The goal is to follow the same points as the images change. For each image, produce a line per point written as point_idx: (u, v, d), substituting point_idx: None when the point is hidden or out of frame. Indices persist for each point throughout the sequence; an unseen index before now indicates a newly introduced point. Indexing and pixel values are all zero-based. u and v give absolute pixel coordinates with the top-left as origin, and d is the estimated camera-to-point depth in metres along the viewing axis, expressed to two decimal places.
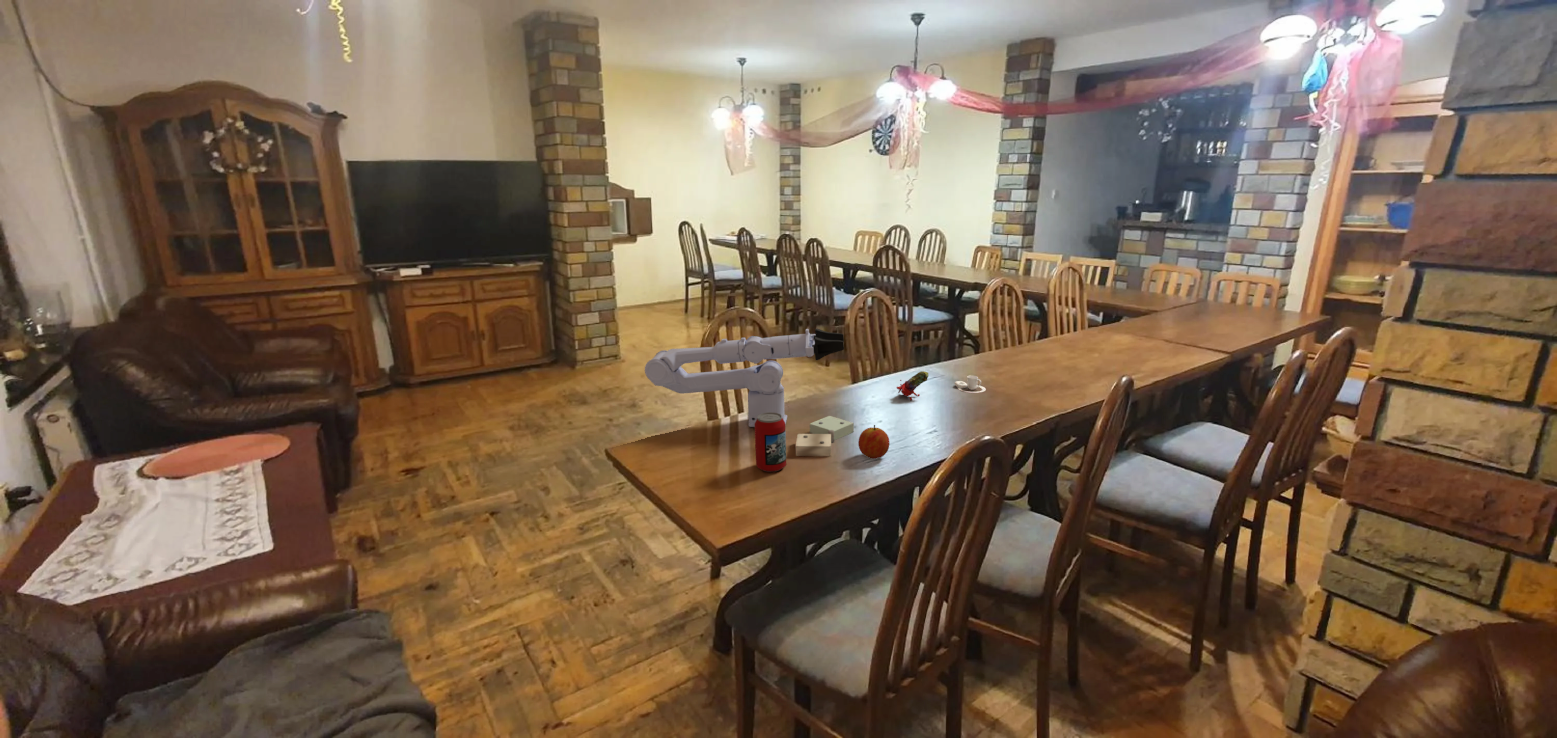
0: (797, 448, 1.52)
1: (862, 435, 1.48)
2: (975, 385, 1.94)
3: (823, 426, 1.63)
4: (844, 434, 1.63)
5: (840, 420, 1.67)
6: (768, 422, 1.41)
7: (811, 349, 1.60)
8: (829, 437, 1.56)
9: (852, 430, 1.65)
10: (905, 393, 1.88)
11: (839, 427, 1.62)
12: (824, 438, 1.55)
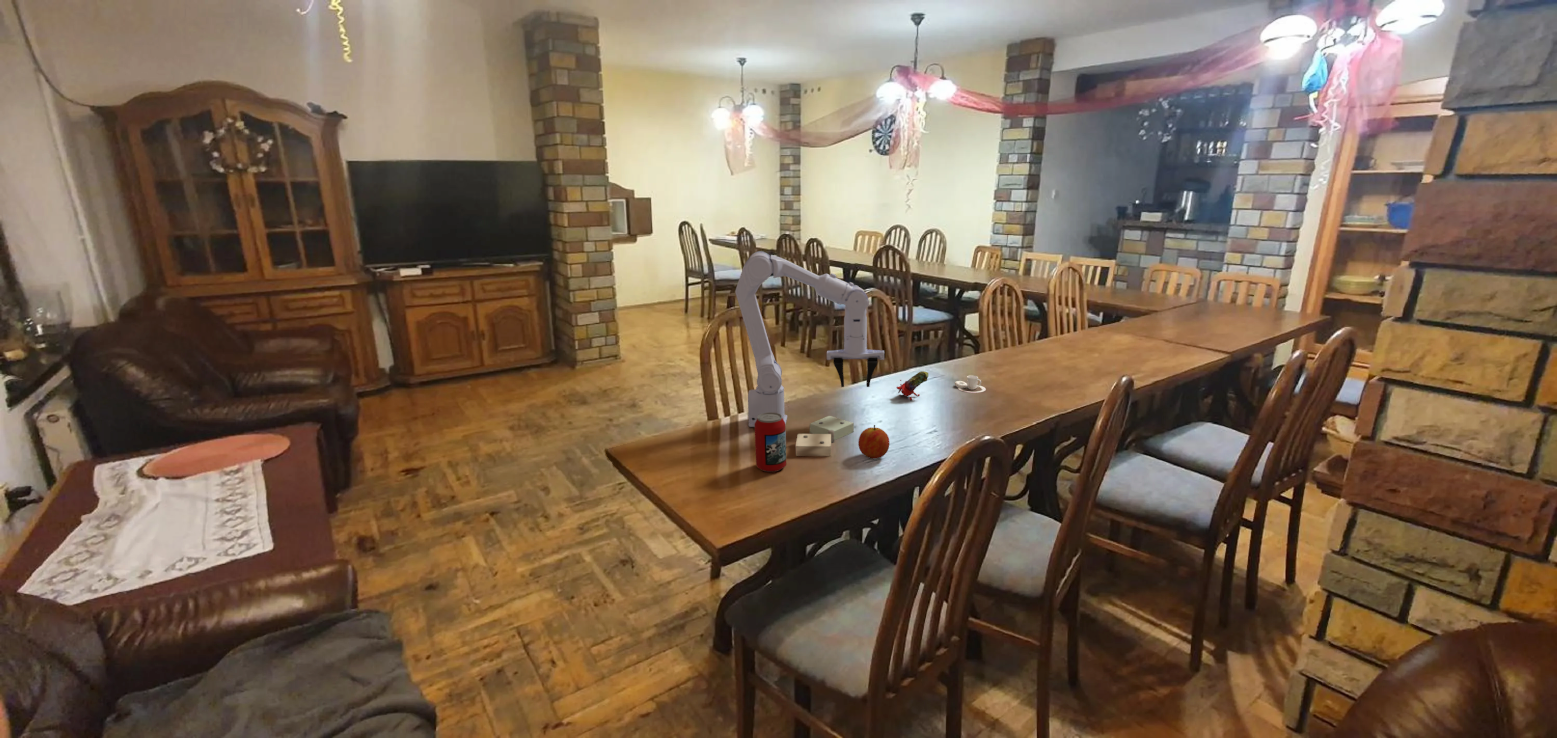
0: (797, 448, 1.52)
1: (862, 435, 1.48)
2: (975, 385, 1.94)
3: (823, 426, 1.63)
4: (844, 434, 1.63)
5: (840, 420, 1.67)
6: (768, 422, 1.41)
7: None
8: (829, 437, 1.56)
9: (852, 430, 1.65)
10: (905, 393, 1.88)
11: (839, 427, 1.62)
12: (824, 438, 1.55)
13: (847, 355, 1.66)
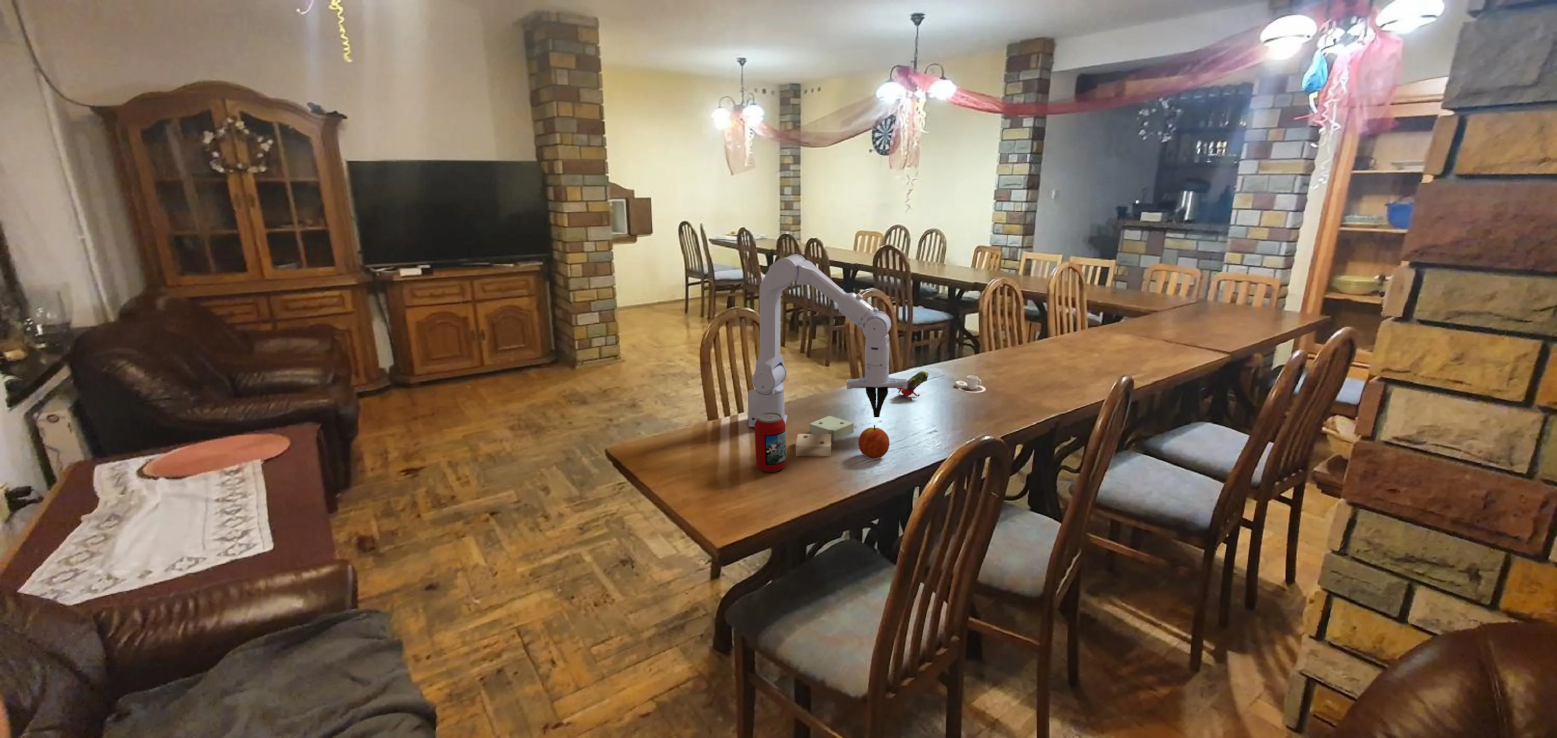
0: (797, 448, 1.52)
1: (862, 435, 1.48)
2: (975, 385, 1.94)
3: (823, 426, 1.63)
4: (844, 434, 1.63)
5: (840, 420, 1.67)
6: (768, 422, 1.41)
7: None
8: (829, 437, 1.56)
9: (852, 430, 1.65)
10: (905, 393, 1.88)
11: (839, 427, 1.62)
12: (824, 438, 1.55)
13: (868, 384, 1.58)
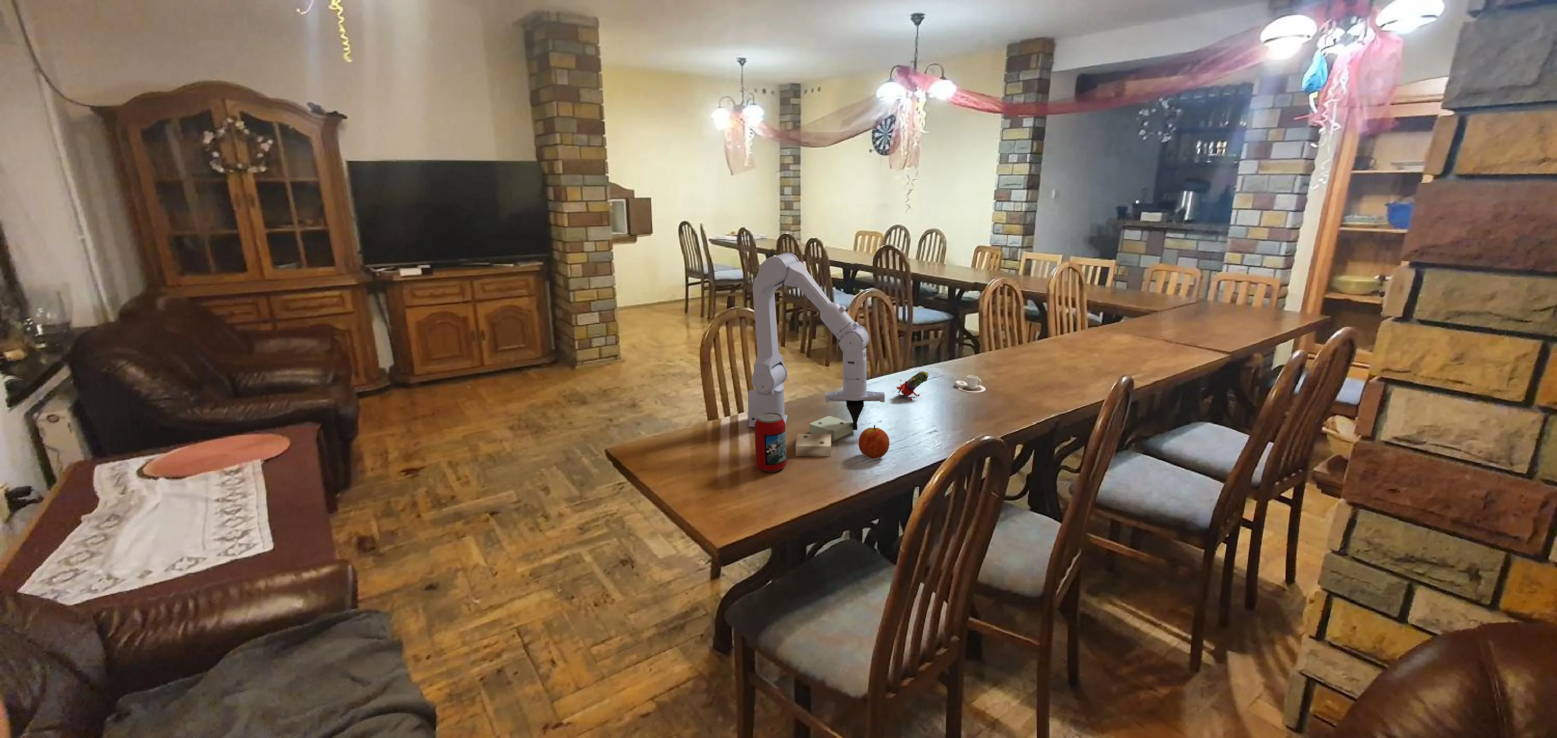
0: (797, 448, 1.52)
1: (862, 435, 1.48)
2: (975, 385, 1.94)
3: (823, 426, 1.63)
4: (844, 434, 1.63)
5: (839, 420, 1.67)
6: (768, 422, 1.41)
7: None
8: (829, 437, 1.56)
9: (852, 430, 1.65)
10: (905, 393, 1.88)
11: (839, 427, 1.62)
12: (824, 438, 1.55)
13: (846, 398, 1.60)
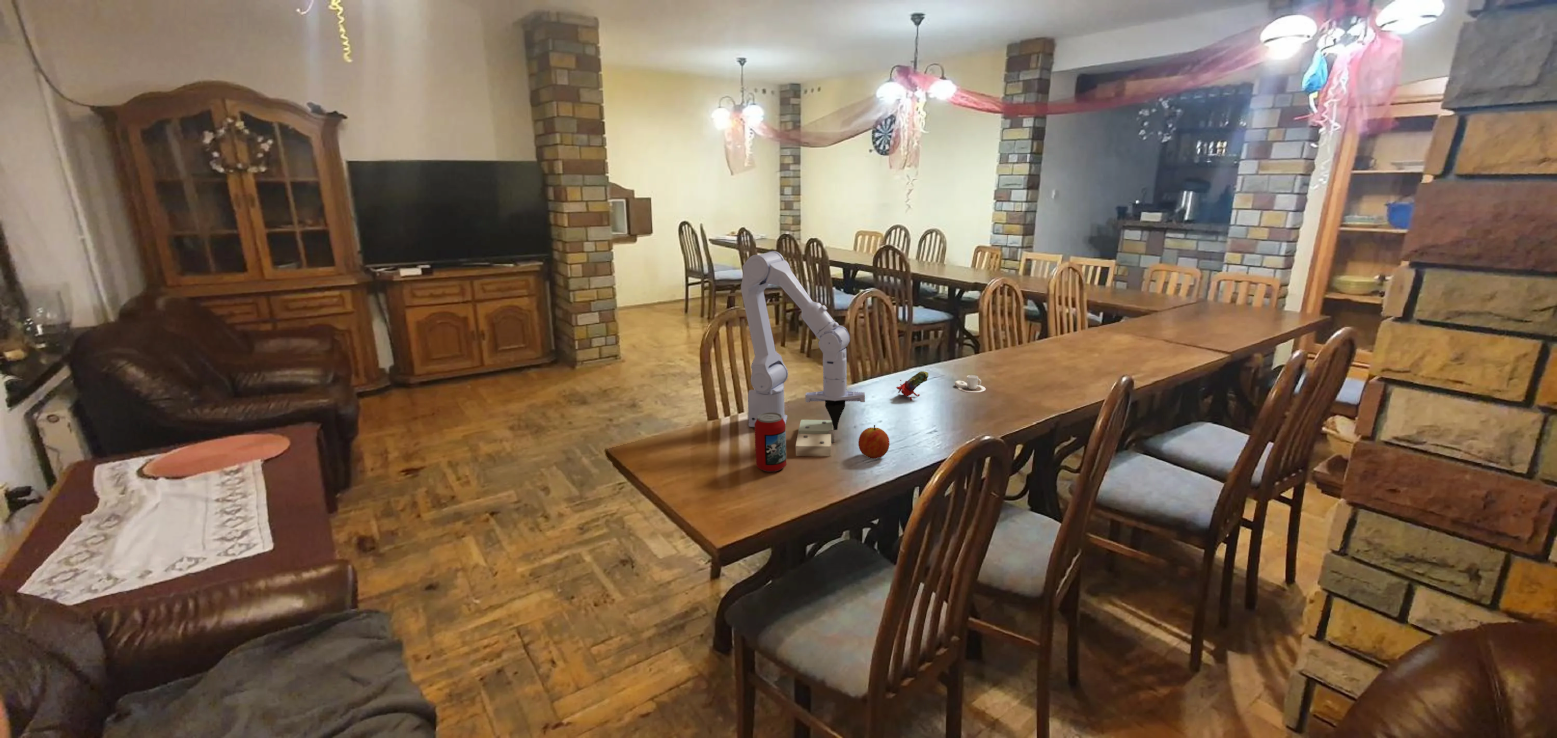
0: (797, 448, 1.52)
1: (862, 435, 1.48)
2: (975, 385, 1.95)
3: (814, 429, 1.61)
4: None
5: (818, 420, 1.67)
6: (768, 422, 1.41)
7: None
8: (829, 437, 1.56)
9: (832, 427, 1.67)
10: (905, 393, 1.88)
11: (829, 426, 1.63)
12: (824, 438, 1.55)
13: (826, 398, 1.60)
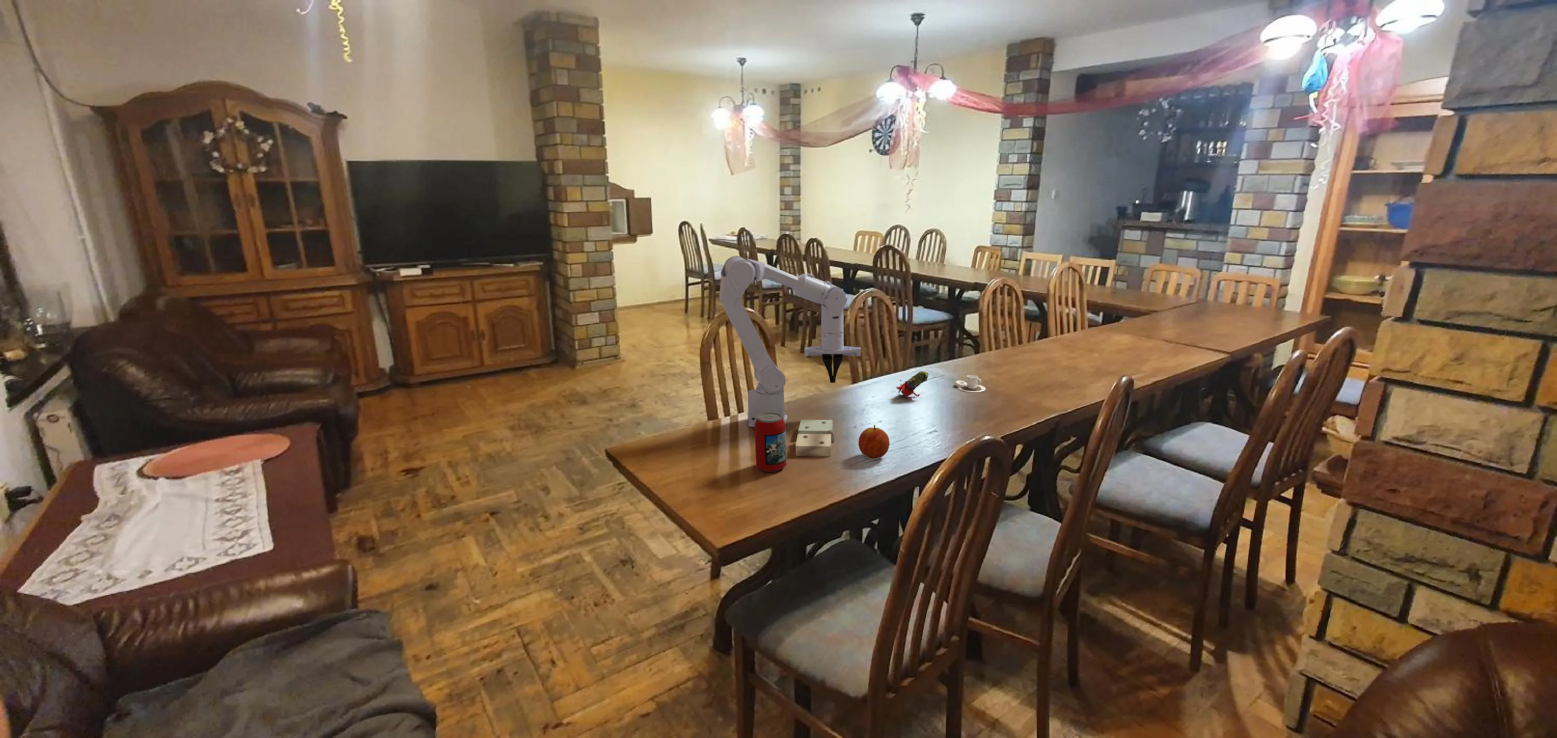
0: (797, 448, 1.52)
1: (862, 435, 1.48)
2: (975, 384, 1.95)
3: (814, 429, 1.61)
4: None
5: (818, 420, 1.67)
6: (768, 422, 1.41)
7: None
8: (829, 437, 1.56)
9: (832, 427, 1.67)
10: (905, 393, 1.88)
11: (829, 426, 1.63)
12: (824, 438, 1.55)
13: (824, 351, 1.70)
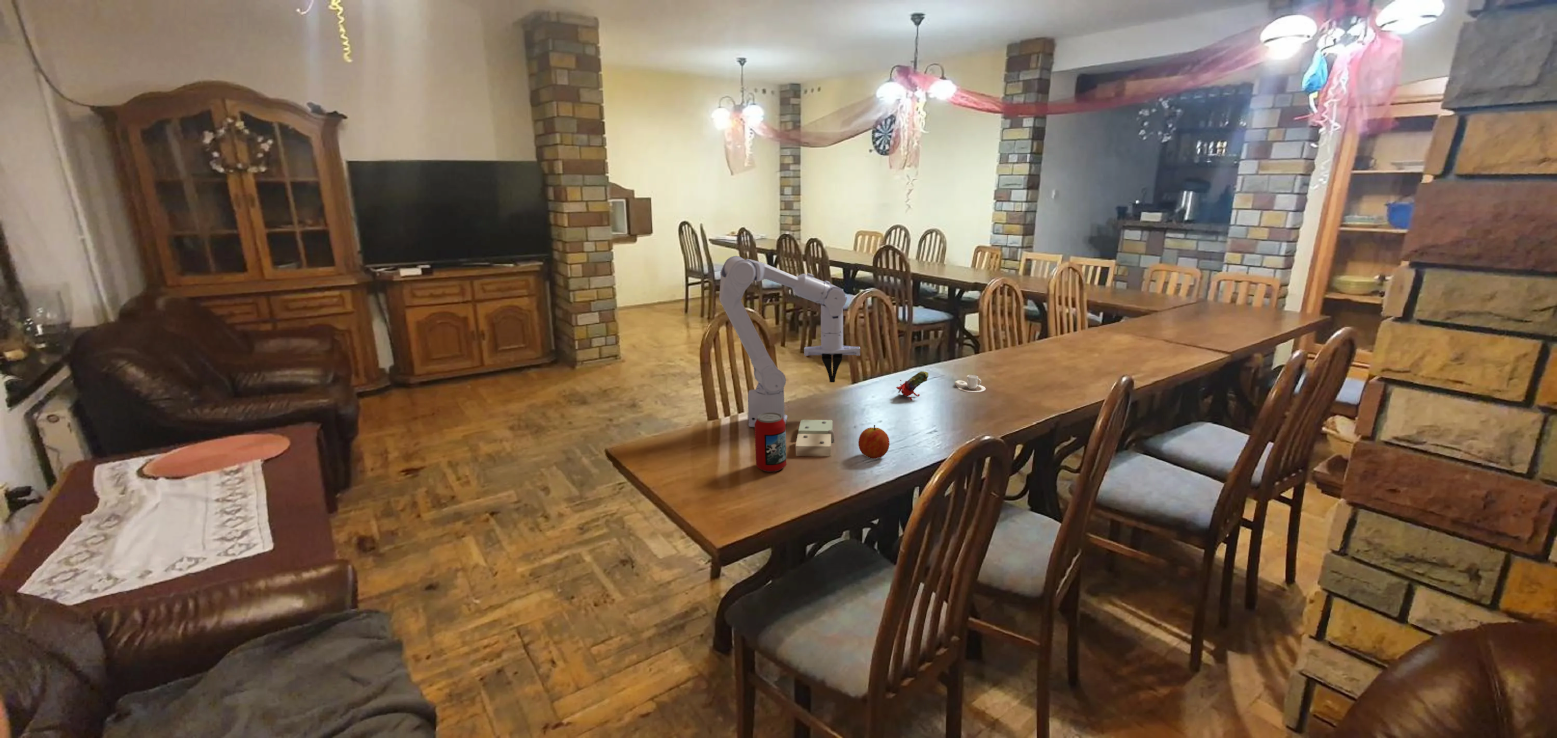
0: (797, 448, 1.52)
1: (862, 435, 1.48)
2: (975, 384, 1.95)
3: (814, 429, 1.61)
4: None
5: (818, 420, 1.67)
6: (768, 422, 1.41)
7: None
8: (829, 437, 1.56)
9: (832, 427, 1.67)
10: (905, 393, 1.88)
11: (829, 426, 1.63)
12: (824, 438, 1.55)
13: (824, 351, 1.71)
